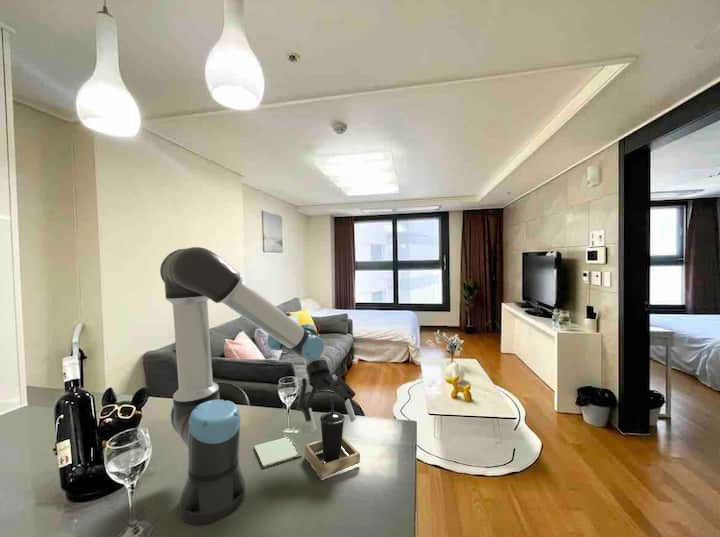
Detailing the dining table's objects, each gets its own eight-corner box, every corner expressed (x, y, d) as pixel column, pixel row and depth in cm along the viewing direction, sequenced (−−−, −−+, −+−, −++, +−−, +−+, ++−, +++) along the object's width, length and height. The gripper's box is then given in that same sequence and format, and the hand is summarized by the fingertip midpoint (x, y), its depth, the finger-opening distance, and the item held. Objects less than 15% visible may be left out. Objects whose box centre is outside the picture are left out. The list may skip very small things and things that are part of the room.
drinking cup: (343, 470, 90) (344, 402, 91) (317, 469, 91) (318, 401, 91) (345, 455, 98) (345, 392, 98) (321, 454, 98) (322, 391, 99)
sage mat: (262, 468, 91) (263, 465, 91) (254, 448, 101) (254, 445, 101) (301, 456, 97) (301, 453, 97) (289, 438, 107) (289, 436, 108)
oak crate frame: (321, 481, 86) (321, 466, 86) (304, 457, 97) (305, 444, 97) (359, 467, 92) (359, 453, 92) (340, 446, 103) (340, 434, 103)
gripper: (343, 364, 117) (363, 420, 104) (278, 375, 104) (292, 441, 91) (350, 354, 112) (372, 411, 99) (283, 363, 99) (299, 431, 86)
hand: (334, 425), depth 95 cm, fingers open, 13 cm apart
